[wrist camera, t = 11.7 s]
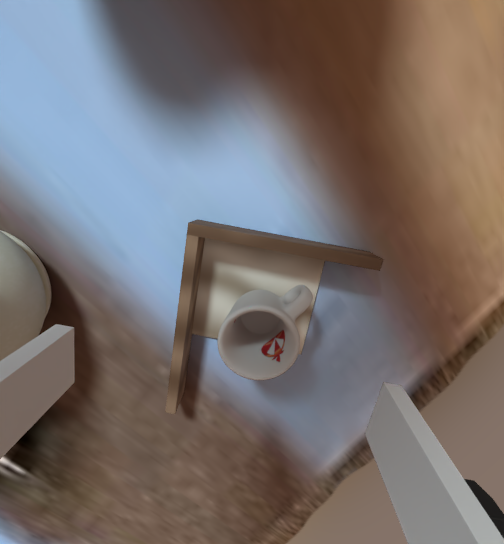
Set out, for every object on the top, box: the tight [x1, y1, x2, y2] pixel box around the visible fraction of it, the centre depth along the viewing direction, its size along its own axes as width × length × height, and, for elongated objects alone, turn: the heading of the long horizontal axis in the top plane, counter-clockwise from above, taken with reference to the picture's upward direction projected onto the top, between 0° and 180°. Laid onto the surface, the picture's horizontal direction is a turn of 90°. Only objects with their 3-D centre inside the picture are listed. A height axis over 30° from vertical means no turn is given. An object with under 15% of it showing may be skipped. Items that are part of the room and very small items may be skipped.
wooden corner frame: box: [165, 220, 383, 414], centre depth 34 cm, size 23×20×4 cm
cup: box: [218, 285, 313, 380], centre depth 31 cm, size 11×8×8 cm
